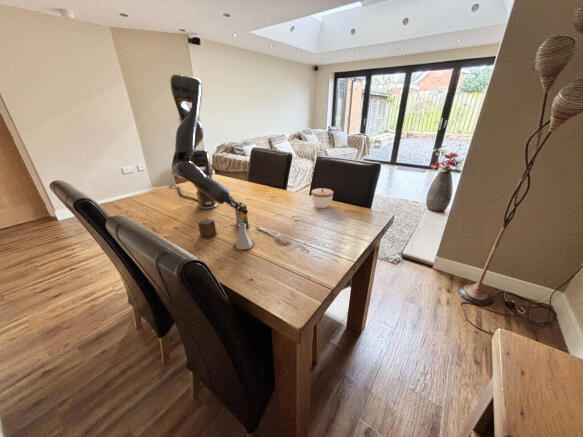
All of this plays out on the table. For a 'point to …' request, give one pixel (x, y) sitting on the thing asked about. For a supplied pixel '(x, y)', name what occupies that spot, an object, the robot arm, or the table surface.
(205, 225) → the walnut block
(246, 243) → the flask
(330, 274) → the table surface
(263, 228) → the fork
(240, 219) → the crayon box
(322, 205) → the lidded bowl
